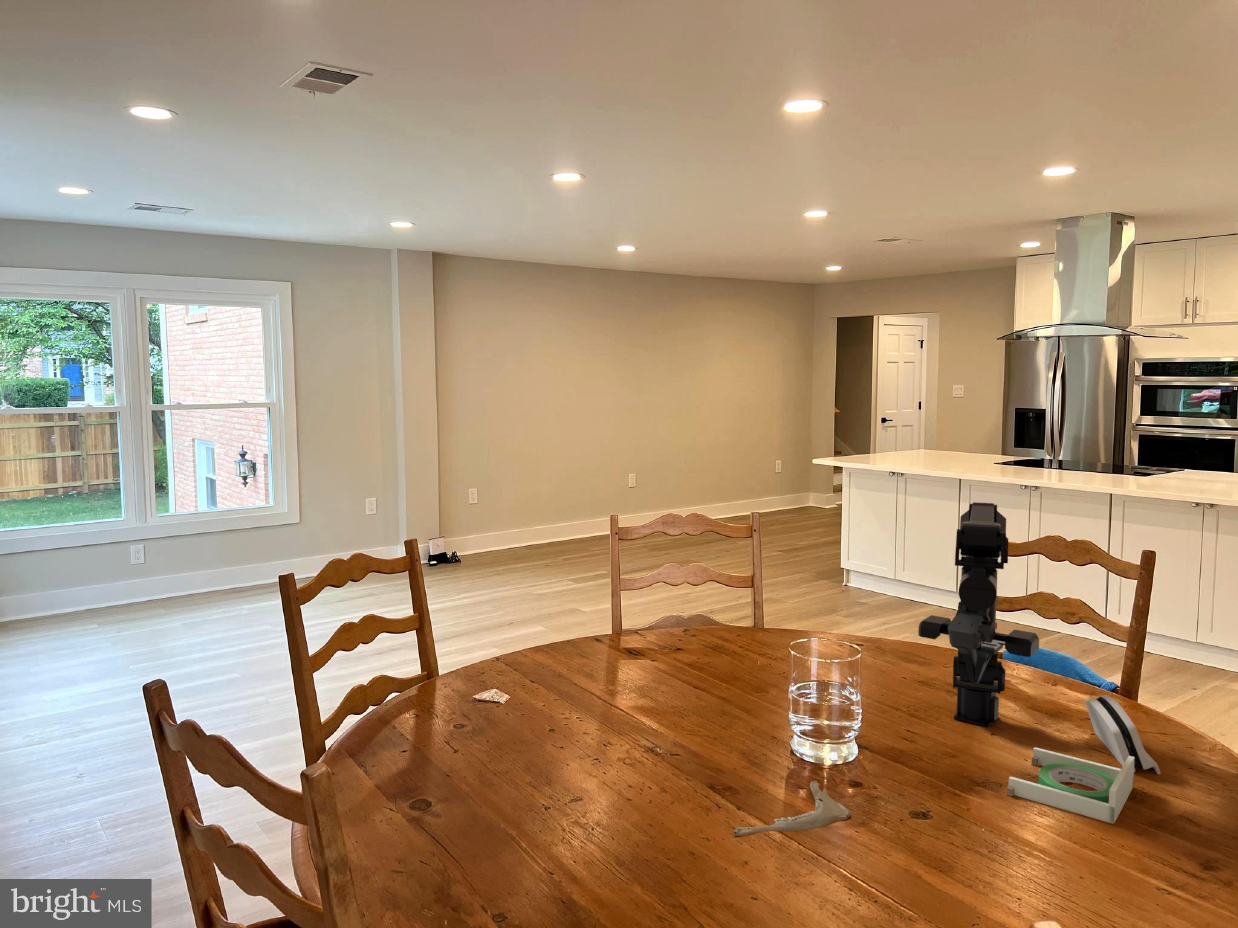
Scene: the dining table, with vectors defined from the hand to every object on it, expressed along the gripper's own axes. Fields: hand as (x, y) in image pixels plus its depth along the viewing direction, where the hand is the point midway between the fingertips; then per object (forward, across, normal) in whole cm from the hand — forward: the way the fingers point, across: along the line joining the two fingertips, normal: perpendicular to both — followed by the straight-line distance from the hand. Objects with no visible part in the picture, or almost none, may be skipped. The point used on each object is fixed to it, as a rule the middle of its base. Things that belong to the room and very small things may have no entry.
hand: (975, 682), depth 149 cm
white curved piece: (+12, +20, +14) cm, 27 cm away
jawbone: (+12, -15, -41) cm, 45 cm away
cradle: (+12, +17, -6) cm, 22 cm away
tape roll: (+12, +18, -6) cm, 23 cm away
